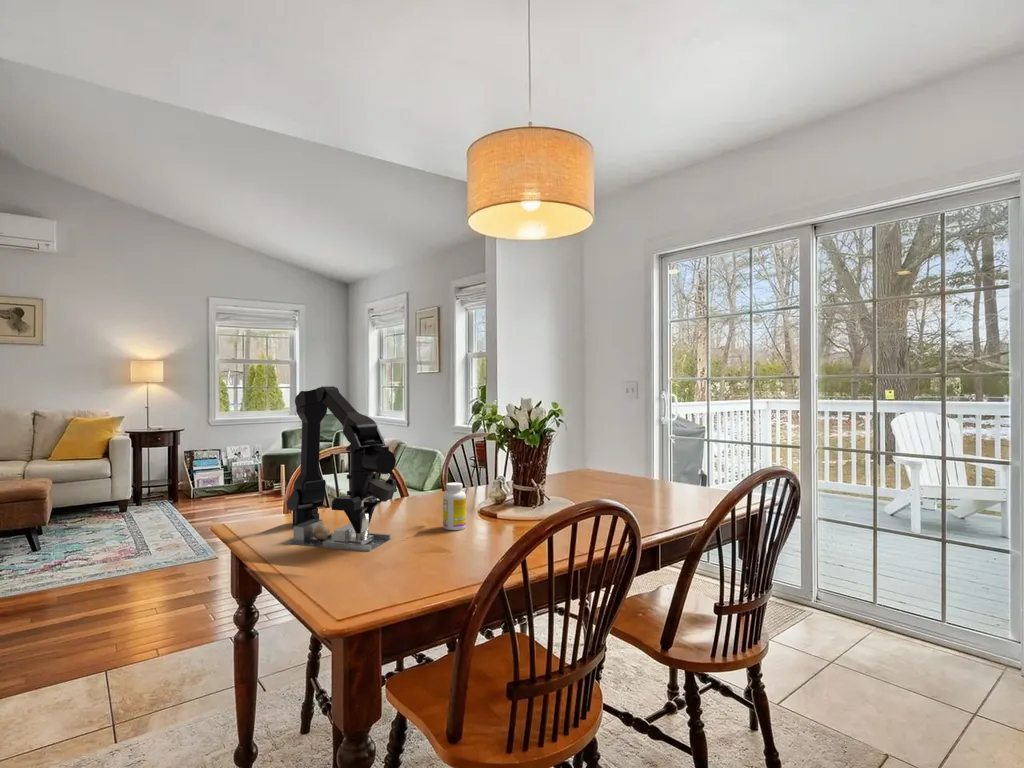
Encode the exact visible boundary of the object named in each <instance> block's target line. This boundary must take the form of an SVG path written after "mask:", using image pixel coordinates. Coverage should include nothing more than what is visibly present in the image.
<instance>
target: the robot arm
mask: <svg viewBox="0 0 1024 768" xmlns="http://www.w3.org/2000/svg"><path fill="white" fill-rule="evenodd" d="M294 403H295V410H296V411H295V412H296V414H297V416H298V418H299V420H301V446H300V447H301V448H300V473H299V475H298V476H297V477H296V479H295V481H294V483H293V489H292V491H291V493H290V495H289V496H288V499H287V500H286V508H287V510H289V511H292V526H293V527H294V526H296V525H299V524H301V523H304V522H306V521H309V520H312V519H317V520H320V513H319V508H322V507H324V502H325V498H326V494H327V491H326V485H327V482H326V480H325V479H323V477H322V476H321V474H320V453H321V450H320V449H321V448H320V447H321V443H320V442H321V424H322V421H323V420H324V418H325V417H326V415H327V413H328V410H329V411H330V412H331V413H332V415H334V417H335V418H336V419H337V421H339V423H340V424H341V425H342V434H343V435H344V436H345V438H346V440H347V441H348V443H349V445H348V446H346V448H345V450H346V452H350V453H349V456H350V461H349V463H350V464H349V465H350V469H349V470H350V472H349V474H346V479H347V480H350V481H349V482H350V484H349V485H350V486H349V488H350V489H349V490H347V491H346V495H345V494H344V495H340V496H337V497H334V498H333V500H331V503H330V506H331V510H332V511H342V512H344V513H345V516H347V518H348V520H349V522H350V523H351V524H352V526H353V528H354V530H355V532H356V533H361V528H362V518H363V512H367V513H369V525H370V524H371V520H372V517H373V514H374V511H375V509H376V507H377V506H379V505H380V504H381V503H382V502H384V503H386V502H387V501H391V500H392V499H393V497H394V494H395V493H396V492H398V489H397V487H398V486H397V480H396V479H394V478H390V477H389V478H387V479H386V480H381V479H379V474H382V475H388V474H390V473H392V472H393V470H394V469H395V467H396V465H397V464H396V462H397V459H396V456H395V454H394V453H393V452H392V451H390V445H387V444H386V443H385V439H384V437H383V436H382V434H381V431H380V429H379V426H378V424H377V422H376V421H375V420H374V419H372V418H371V417H369V416H368V415H365V414H362V413H360V412H358V411H357V410H356V409H355V408H354V407H353V405H352V404H351V403H350V402H349V401H348V400H347V399H346V398H345V397H344V396H343V395H342V394H341V393H340V390H339V388H338V387H336V386H333V385H332V386H331V385H329V386H328V385H327V386H326V385H325V386H323V385H322V386H319V387H317V388H315V389H311V390H310V389H309V390H301V391H299V392H298V394H297V395H296V396H295V399H294Z"/></svg>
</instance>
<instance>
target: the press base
mask: <svg viewBox="0 0 1024 768" xmlns="http://www.w3.org/2000/svg"><path fill="white" fill-rule="evenodd" d="M319 524H323V519H319V520H317V519H312V520H309V521H306V522H304V523H301V524H299V525H296V526H293V539H291V540H289V541H287V542H285V543H283V545H290V546H299V547H310V548H312V547H313V548H322V549H332V550H333V549H334V550H341V551H342V550H343V551H356V552H362V553H363V552H364V553H365V552H367V553H369V552H371V551H373V550H374V549H376V548H378V547H380V546H382V545H383V544H386V543H387V542H389V541H391V540H392V534H389V533H388V534H387V533H379V532H378V533H377V532H369V535H373V536H374V539H373V540H371V541H370V542H368V543H366V544H364V545H363V544H352V543H341V542H334V532H333V533H332V532H330V533H329V536H328V537H327V538H326V539H324V540H318V539H317V538H315V536H314V533H313V532H314V529H315V527H316V526H317V525H319Z"/></svg>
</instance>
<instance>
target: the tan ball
mask: <svg viewBox="0 0 1024 768" xmlns="http://www.w3.org/2000/svg"><path fill="white" fill-rule="evenodd" d="M313 533H314V536H315V538H317V539H318V540H324V539H326V538H327V537H328V536H329V533H331V530H330V527H329V526H328V525H327V524H326V523H322V524H319V525H317V526H316V527H315V529H314V532H313Z"/></svg>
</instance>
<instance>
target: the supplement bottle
mask: <svg viewBox="0 0 1024 768" xmlns="http://www.w3.org/2000/svg"><path fill="white" fill-rule="evenodd" d="M445 486H446V487H445V488H446V491H445V492H444V493H443V495H442V513H443V514H442V518H443V519H442V526H443V529H445V530H448V531H460V530H464V529H466V527H467V495H466V493H465V492H464V491H463V487H464V486H463V483H462V482H447V483H446V484H445Z"/></svg>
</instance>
